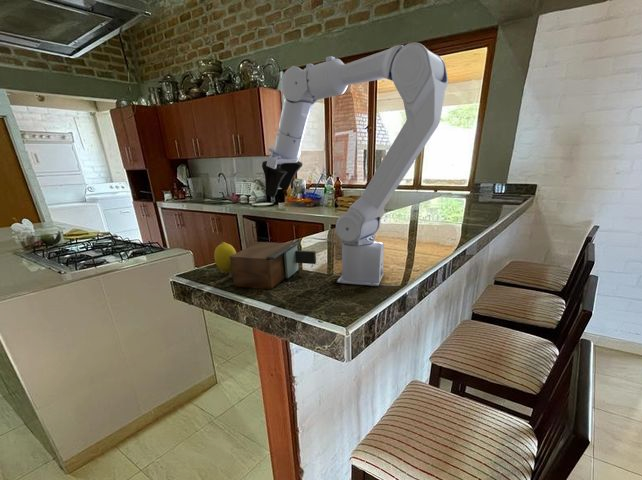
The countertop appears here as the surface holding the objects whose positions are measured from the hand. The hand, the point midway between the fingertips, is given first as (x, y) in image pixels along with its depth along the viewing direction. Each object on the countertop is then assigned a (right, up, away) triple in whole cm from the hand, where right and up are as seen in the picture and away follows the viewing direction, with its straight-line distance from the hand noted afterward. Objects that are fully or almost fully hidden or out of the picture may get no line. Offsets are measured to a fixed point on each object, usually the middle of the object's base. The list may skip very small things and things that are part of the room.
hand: (276, 192), depth 83 cm
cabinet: (-3, -21, -1) cm, 22 cm away
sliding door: (+6, -20, -1) cm, 21 cm away
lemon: (-13, -20, +3) cm, 24 cm away
